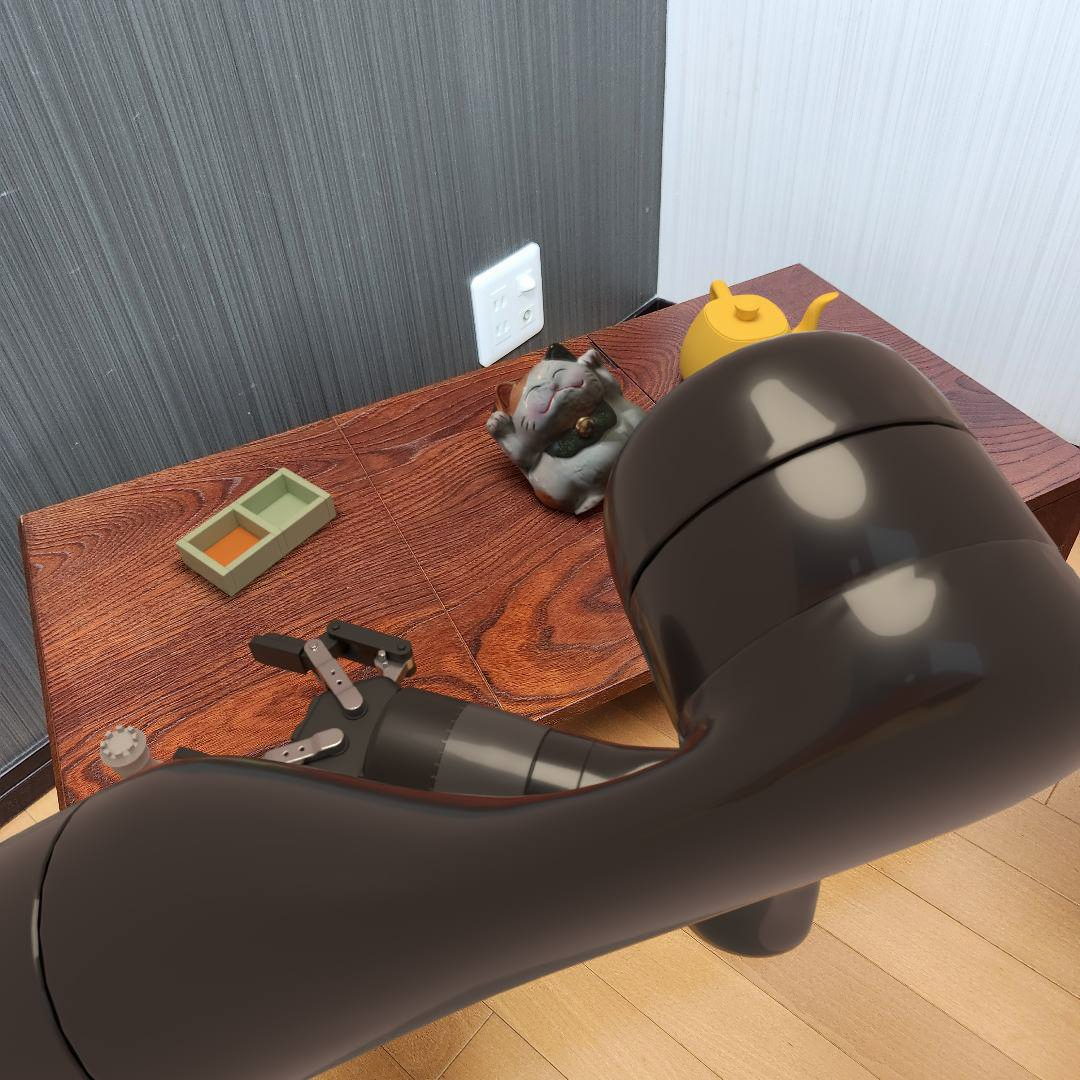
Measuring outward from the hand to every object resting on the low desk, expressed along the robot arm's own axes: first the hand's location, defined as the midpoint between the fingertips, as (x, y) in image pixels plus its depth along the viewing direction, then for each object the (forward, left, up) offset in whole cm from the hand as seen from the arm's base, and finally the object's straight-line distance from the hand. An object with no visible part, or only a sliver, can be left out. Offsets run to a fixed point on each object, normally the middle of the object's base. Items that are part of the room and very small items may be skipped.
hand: (217, 701), depth 57 cm
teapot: (+69, -1, -18) cm, 71 cm away
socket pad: (+20, +26, -17) cm, 37 cm away
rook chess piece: (-4, +11, -18) cm, 21 cm away
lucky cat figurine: (+46, +7, -18) cm, 49 cm away
